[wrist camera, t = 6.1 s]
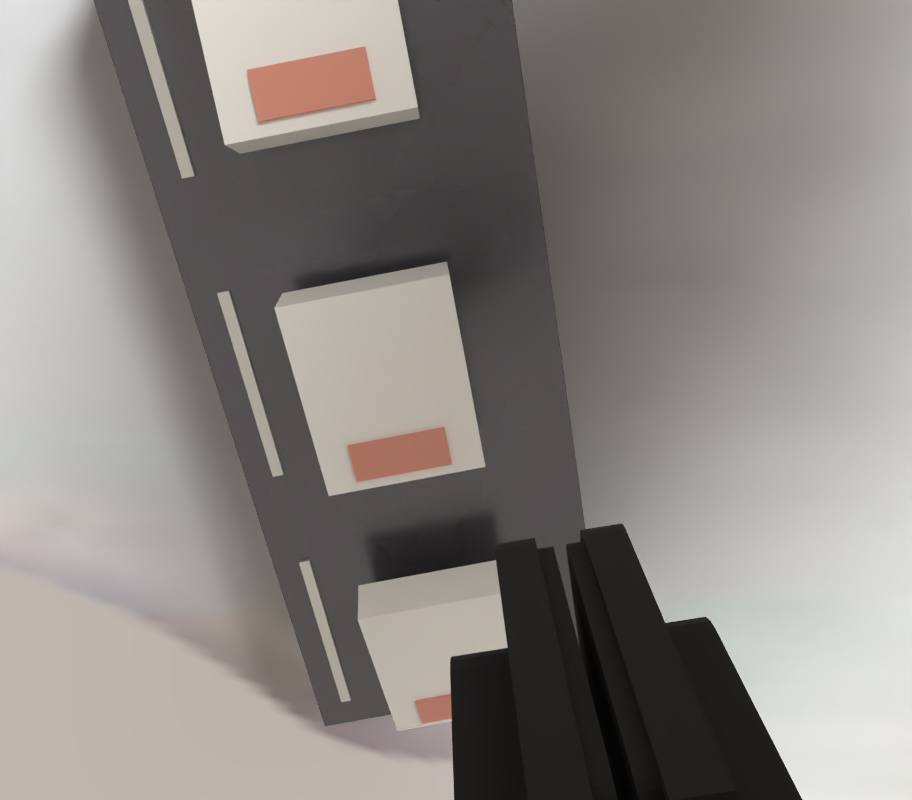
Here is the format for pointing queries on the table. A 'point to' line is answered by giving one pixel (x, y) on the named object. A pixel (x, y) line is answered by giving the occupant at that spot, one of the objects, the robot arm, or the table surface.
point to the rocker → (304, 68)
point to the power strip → (357, 256)
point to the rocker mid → (382, 378)
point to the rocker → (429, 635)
